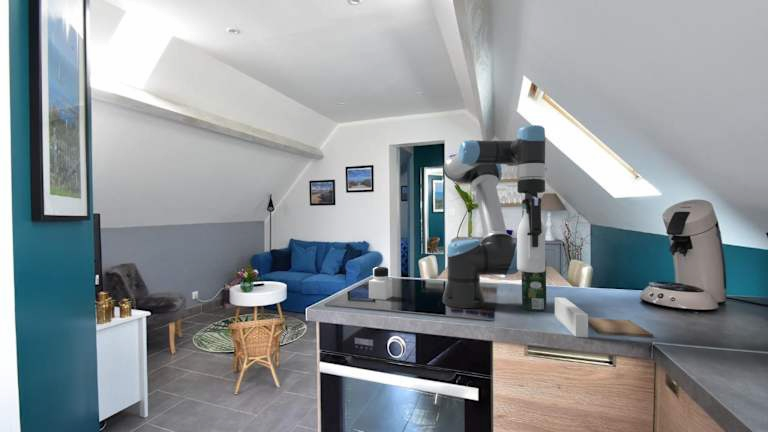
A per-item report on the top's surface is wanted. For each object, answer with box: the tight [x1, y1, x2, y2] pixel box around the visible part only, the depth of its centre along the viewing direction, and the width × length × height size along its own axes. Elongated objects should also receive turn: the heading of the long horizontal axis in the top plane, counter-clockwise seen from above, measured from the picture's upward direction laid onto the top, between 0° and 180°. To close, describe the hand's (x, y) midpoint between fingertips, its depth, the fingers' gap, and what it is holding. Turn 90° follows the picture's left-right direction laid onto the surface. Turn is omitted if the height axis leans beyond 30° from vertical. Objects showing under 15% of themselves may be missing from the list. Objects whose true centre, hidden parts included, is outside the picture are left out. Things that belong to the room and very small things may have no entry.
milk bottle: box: [516, 203, 546, 273], centre depth 103 cm, size 8×8×20 cm
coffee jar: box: [521, 259, 547, 312], centre depth 122 cm, size 10×8×19 cm
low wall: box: [554, 296, 589, 338], centre depth 103 cm, size 3×20×6 cm, turn 168°
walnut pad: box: [588, 317, 655, 338], centre depth 100 cm, size 13×13×1 cm
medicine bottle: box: [368, 266, 393, 301], centre depth 138 cm, size 7×7×12 cm
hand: (531, 256), depth 103 cm, fingers closed on milk bottle, 8 cm apart
